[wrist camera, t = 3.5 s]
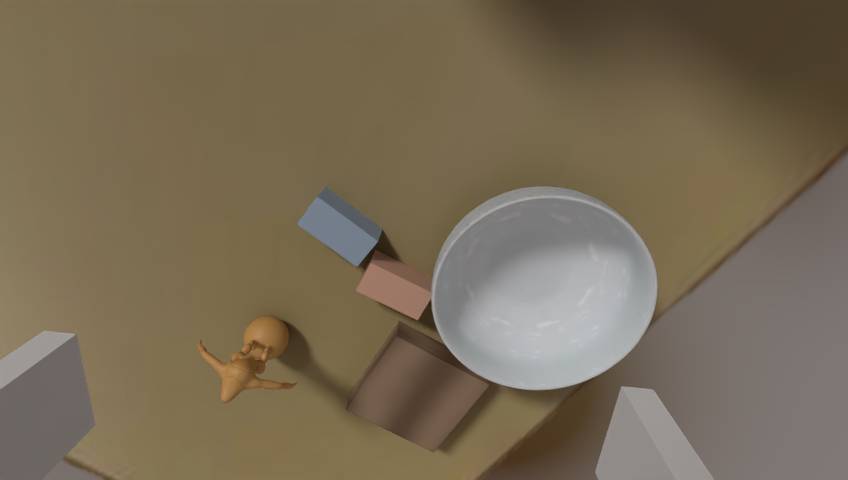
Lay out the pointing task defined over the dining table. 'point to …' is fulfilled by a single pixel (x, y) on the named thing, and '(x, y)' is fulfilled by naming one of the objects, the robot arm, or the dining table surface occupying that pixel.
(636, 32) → the dining table surface
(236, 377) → the figurine
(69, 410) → the robot arm
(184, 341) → the dining table surface
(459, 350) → the cereal bowl
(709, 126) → the dining table surface
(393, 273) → the terracotta brick
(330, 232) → the slate-blue brick
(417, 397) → the walnut plinth
